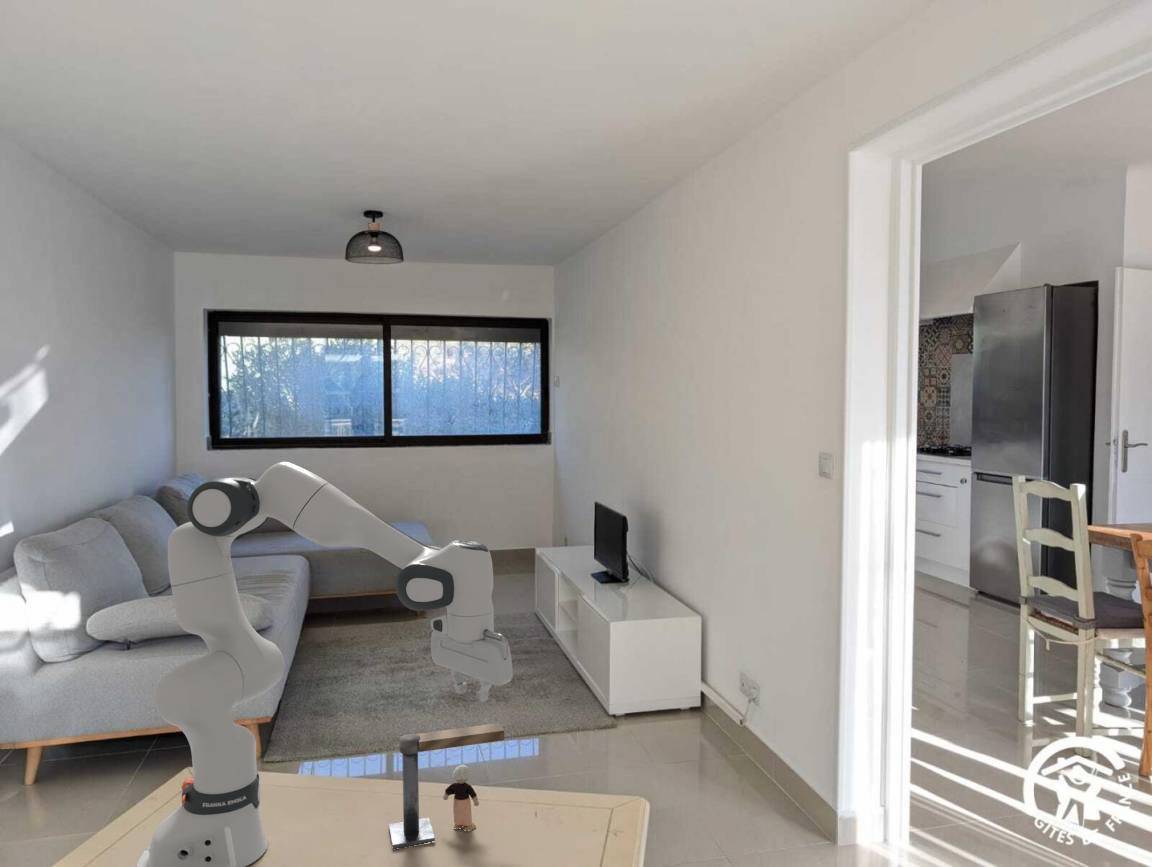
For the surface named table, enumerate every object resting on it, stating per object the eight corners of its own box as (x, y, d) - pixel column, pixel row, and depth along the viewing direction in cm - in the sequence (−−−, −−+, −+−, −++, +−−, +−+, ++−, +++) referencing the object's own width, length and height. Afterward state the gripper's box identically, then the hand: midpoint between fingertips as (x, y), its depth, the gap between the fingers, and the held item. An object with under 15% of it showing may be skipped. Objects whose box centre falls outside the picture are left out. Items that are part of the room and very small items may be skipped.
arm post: (392, 849, 157) (391, 763, 156) (388, 828, 165) (387, 746, 164) (434, 842, 160) (433, 757, 159) (428, 822, 167) (427, 740, 166)
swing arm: (400, 755, 159) (400, 743, 159) (398, 747, 163) (398, 735, 162) (504, 741, 165) (504, 729, 165) (499, 733, 169) (499, 721, 169)
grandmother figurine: (482, 823, 167) (481, 762, 166) (478, 833, 163) (477, 770, 162) (445, 821, 168) (444, 760, 167) (440, 831, 164) (439, 769, 163)
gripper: (520, 632, 152) (520, 705, 153) (450, 612, 166) (451, 679, 167) (494, 640, 147) (495, 715, 148) (425, 619, 161) (426, 688, 162)
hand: (471, 696), depth 158 cm, fingers open, 5 cm apart
